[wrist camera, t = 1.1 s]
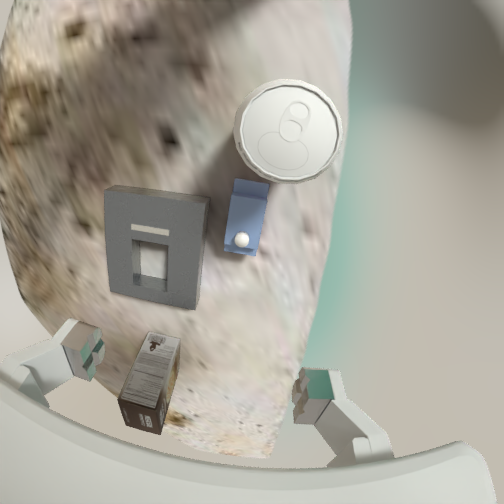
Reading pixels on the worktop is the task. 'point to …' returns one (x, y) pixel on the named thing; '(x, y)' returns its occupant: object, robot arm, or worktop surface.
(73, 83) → the worktop surface
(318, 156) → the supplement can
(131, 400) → the coffee box
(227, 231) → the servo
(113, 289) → the plate
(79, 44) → the worktop surface
